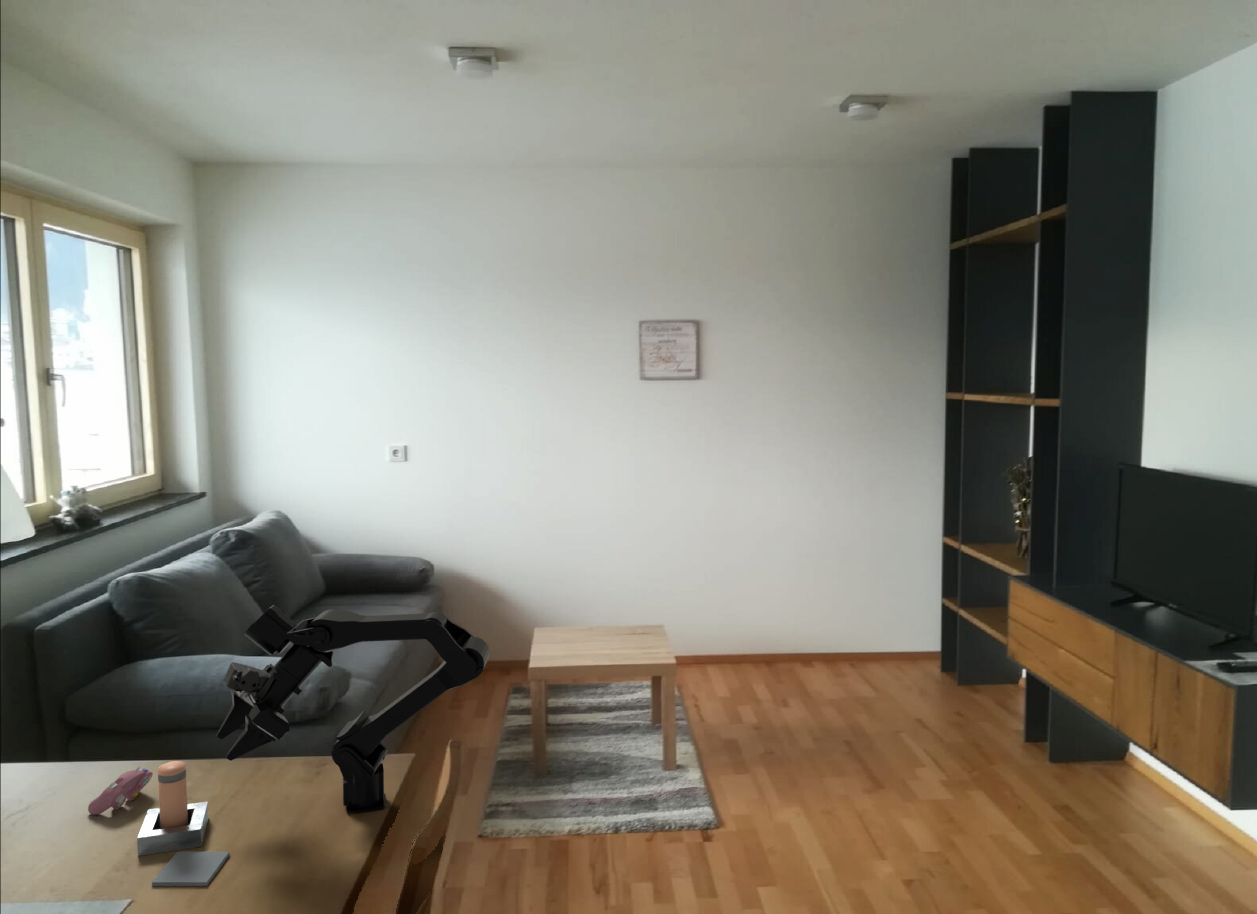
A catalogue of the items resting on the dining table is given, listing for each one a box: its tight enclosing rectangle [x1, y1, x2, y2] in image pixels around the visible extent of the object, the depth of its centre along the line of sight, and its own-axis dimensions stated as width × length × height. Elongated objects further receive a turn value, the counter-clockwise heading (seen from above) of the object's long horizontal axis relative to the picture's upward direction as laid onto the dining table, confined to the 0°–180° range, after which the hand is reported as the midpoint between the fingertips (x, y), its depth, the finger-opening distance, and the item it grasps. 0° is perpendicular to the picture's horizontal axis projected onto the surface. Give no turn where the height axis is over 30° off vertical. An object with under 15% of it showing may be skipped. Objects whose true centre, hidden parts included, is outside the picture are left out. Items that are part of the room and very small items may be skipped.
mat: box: [151, 851, 230, 887], centre depth 132 cm, size 8×8×1 cm
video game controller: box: [87, 766, 153, 816], centre depth 151 cm, size 10×5×7 cm, turn 168°
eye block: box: [136, 801, 209, 857], centre depth 141 cm, size 9×9×3 cm
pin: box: [157, 760, 188, 829], centre depth 140 cm, size 4×4×12 cm
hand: (223, 748), depth 144 cm, fingers open, 9 cm apart
